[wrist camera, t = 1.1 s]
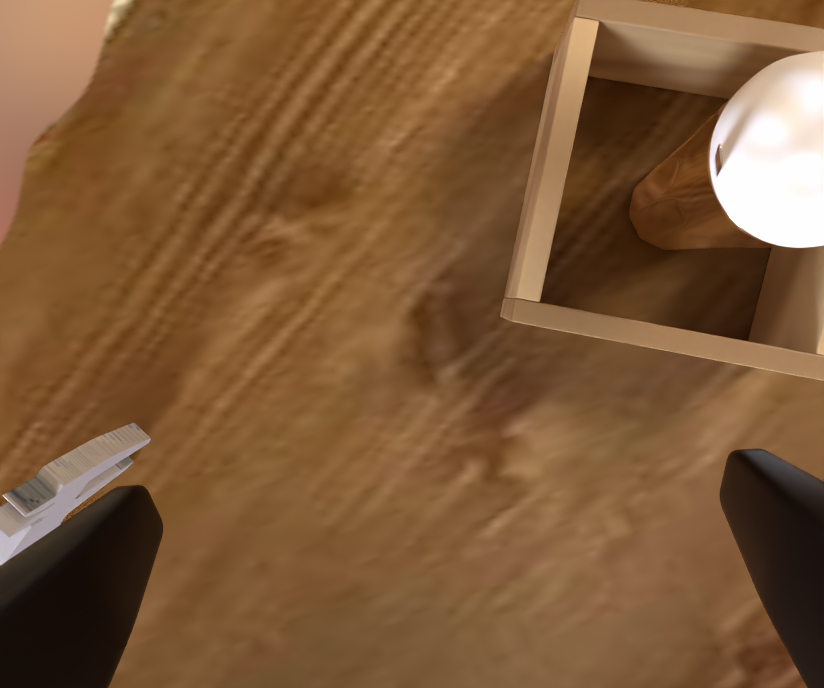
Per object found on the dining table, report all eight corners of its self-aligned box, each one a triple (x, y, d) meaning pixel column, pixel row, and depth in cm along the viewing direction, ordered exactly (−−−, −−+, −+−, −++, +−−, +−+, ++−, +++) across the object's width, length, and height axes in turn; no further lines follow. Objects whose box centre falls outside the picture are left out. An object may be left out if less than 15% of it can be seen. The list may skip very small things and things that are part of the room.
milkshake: (583, 164, 21) (707, 41, 11) (723, 138, 20) (989, -16, 10) (598, 278, 21) (732, 262, 11) (736, 255, 20) (1006, 217, 11)
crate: (761, 366, 21) (835, 382, 17) (499, 316, 21) (511, 321, 17) (832, 94, 20) (929, 43, 16) (554, 49, 20) (579, -11, 16)
